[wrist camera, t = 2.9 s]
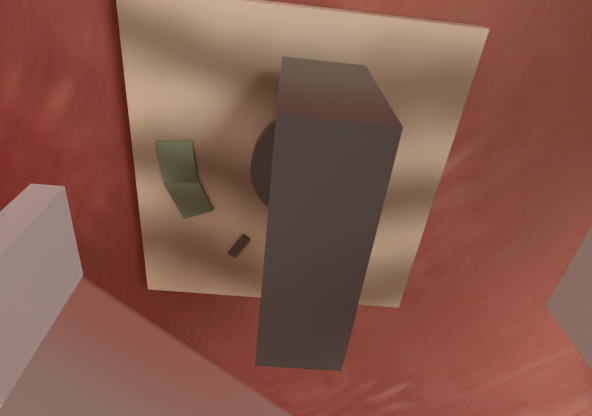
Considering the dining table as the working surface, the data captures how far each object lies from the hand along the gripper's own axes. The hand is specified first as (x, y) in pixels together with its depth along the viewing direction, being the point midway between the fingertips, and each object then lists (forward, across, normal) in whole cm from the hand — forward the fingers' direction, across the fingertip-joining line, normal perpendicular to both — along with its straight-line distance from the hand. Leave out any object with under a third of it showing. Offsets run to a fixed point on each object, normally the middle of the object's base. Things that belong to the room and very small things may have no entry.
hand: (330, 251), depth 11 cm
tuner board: (+15, -1, -5) cm, 16 cm away
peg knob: (+13, 0, -5) cm, 14 cm away
